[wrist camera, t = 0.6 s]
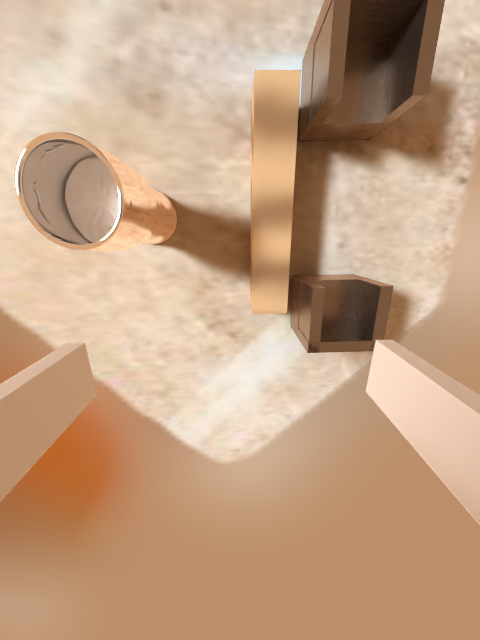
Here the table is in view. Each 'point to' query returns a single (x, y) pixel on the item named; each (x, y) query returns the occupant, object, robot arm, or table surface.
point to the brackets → (358, 138)
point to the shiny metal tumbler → (89, 196)
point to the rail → (272, 186)
